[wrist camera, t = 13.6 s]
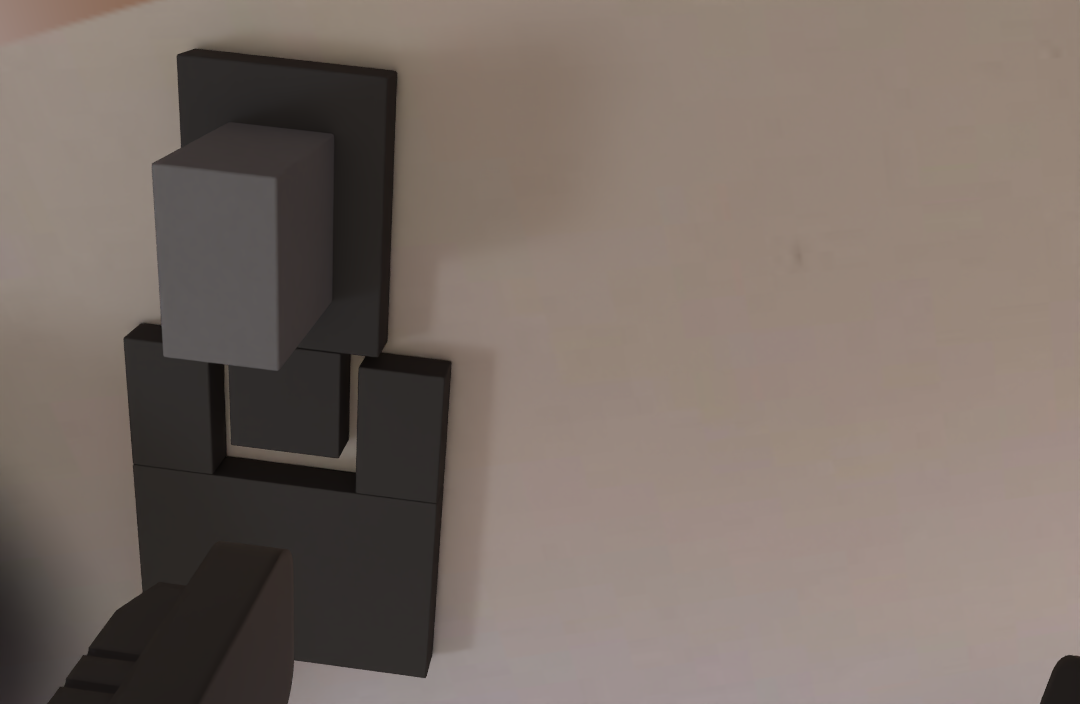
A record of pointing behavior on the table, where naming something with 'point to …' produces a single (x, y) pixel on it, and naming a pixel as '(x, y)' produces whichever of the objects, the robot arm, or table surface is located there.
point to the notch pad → (302, 502)
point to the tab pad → (361, 234)
